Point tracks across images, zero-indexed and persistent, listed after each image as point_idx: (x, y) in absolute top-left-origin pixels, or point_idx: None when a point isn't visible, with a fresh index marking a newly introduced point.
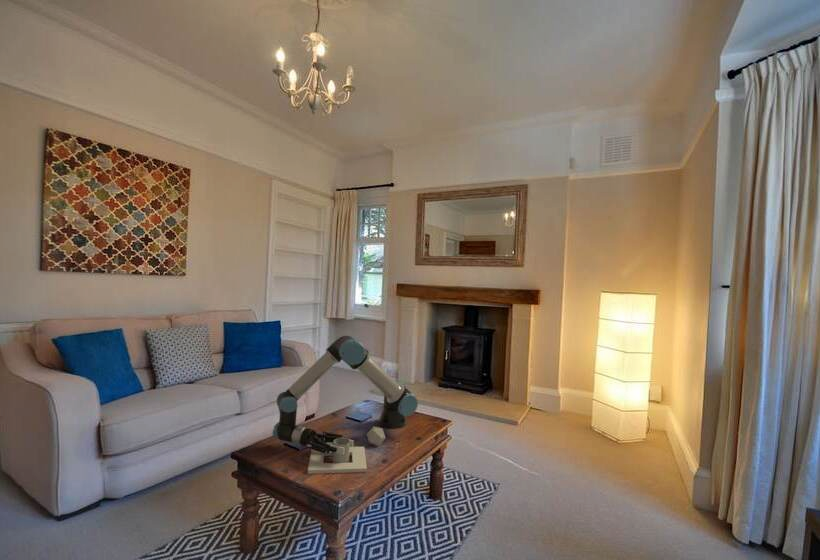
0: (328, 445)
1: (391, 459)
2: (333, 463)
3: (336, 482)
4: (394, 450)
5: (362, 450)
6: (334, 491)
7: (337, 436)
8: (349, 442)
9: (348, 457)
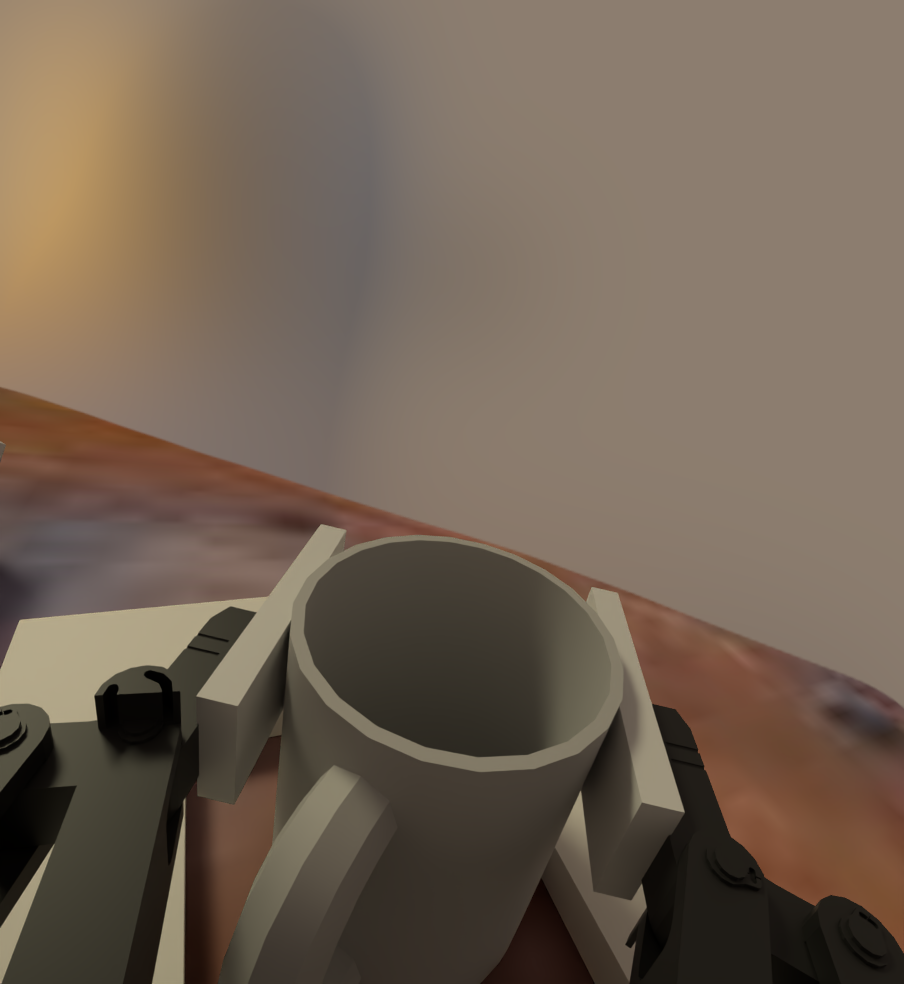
0: (737, 856)
1: (270, 496)
2: (592, 890)
3: (784, 769)
4: (113, 478)
5: (146, 625)
6: (880, 748)
7: (87, 806)
8: (451, 538)
9: (418, 703)
